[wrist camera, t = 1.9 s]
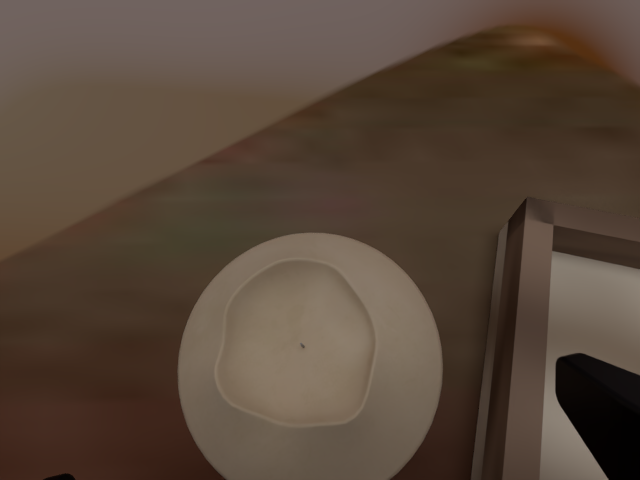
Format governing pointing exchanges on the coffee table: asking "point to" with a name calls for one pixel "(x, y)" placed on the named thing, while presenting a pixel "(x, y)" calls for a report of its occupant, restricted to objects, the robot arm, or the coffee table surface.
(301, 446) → the candle
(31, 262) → the coffee table surface
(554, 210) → the dock bay
